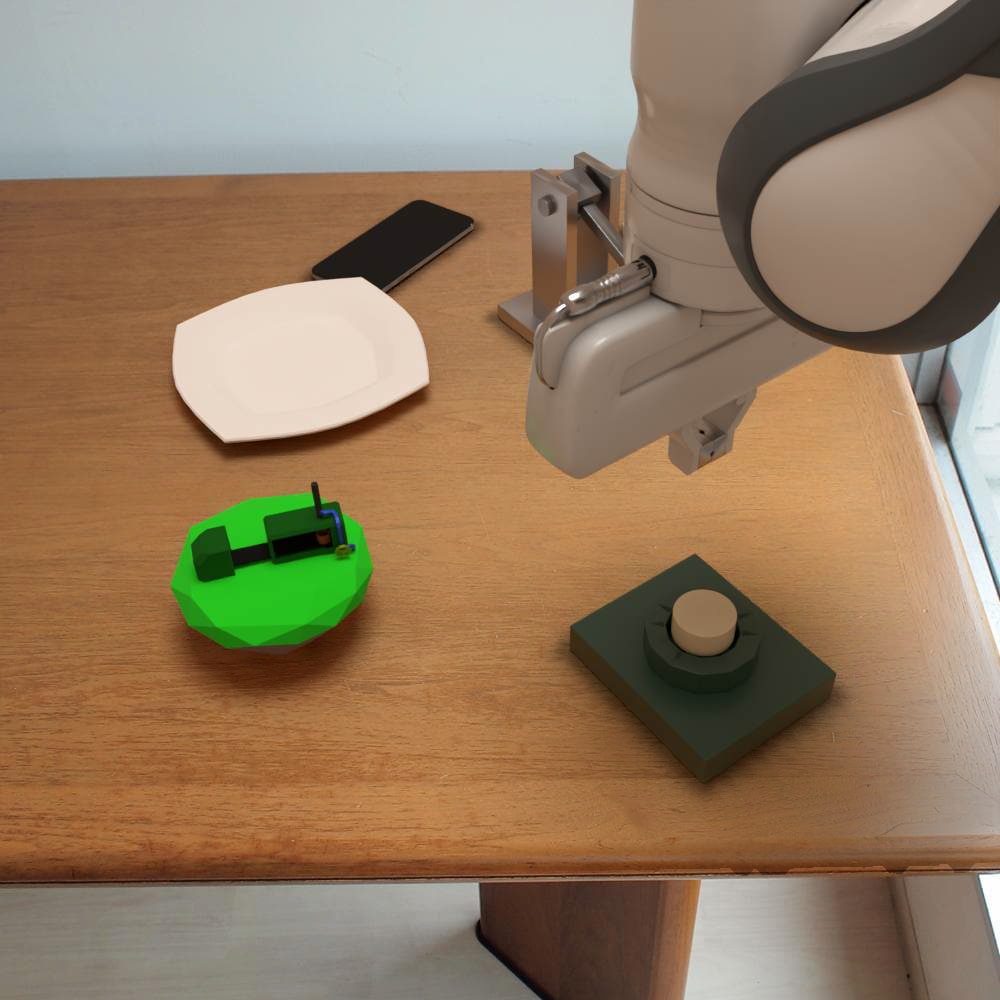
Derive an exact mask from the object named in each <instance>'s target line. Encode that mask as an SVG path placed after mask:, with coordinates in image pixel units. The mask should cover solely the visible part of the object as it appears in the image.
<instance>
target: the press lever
mask: <svg viewBox="0 0 1000 1000" xmlns="http://www.w3.org/2000/svg"><path fill="white" fill-rule="evenodd" d="M555 177H556V178H558V179H559V180H561V181H563V182H564V183H566V184H567V185H569V186H570V187H572V188H574V189H575V190H577V191H578V207H577V220H580V219H583V221H584V222H585V223H586V224H587V226H588V227H589V228H590V229H591V231H592V232H593V233H594V234H595V236H596V237H597V238H598V240H599V241H600V242H601V243H602V245H603V246H604V247H605V248H606V250H607V251H608V252H609V253H610V255H611V256H612V257H613V258H614V260H615V261H616V262H617V266H618V267H622V266H624V265H625V263H624V259H623V236H622V235H621V234H620V233H618V232H617V231H616V229H615V228H614V227H613V225H612V224H611V223H610V222H609V220H608V219H607V218H606V217H605V215H604V214H603V213H602V212H601V210H600V209H599V208H598V207H597V203H598V201H599V198H600V196H601V193H602V192H601V191H600V190H599V188H598V187H597V186H596V185H595V184H594V182H593V181H592V180H591V179H590V177H589V176H588V175H587V174H586V172H585V171H584V170H583V169H582V167H581V166H579V167H576V168H574V167H573V168H572V169H570V170H567V171H563V172H562V173H558V174H556V176H555Z"/></svg>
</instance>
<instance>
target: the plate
mask: <svg viewBox="0 0 1000 1000" xmlns="http://www.w3.org/2000/svg"><path fill="white" fill-rule="evenodd" d="M171 359H172V361H171V362H172V376H173V380H174V386H175V388H176V390H177V391H178V393H179V395H180V397H181V398H182V400H183V402H184V403H185V404H186V405H187V406H188V407H189V409H190V410H191V411H192V413H193V414H194V416H196V417H197V418H198V420H200V421H201V422H202V423H203V424H204V425H205V426H206V427H207V428H208V429H209V430H210V431H211V432H212V433H213V434H214V435H215V436H216V437H218V438H219V439H220V440H221V441H222V442H223V443H224V444H233V443H245V442H256V441H268V440H275V439H276V440H277V439H286V438H292V437H299V436H304V435H311V434H317V433H321V432H325V431H328V430H332V429H336V428H339V427H342V426H346V425H348V424H351V423H355V422H357V421H360V420H362V419H365V418H367V417H369V416H371V415H374V414H376V413H378V412H380V411H382V410H383V411H384V410H385V409H386V408H388V407H390V406H392V405H394V404H396V403H398V402H400V401H401V400H404V399H405V398H407V397H409V396H411V395H413V394H414V393H416V392H418V391H420V390H422V389H424V388H425V387H427V386H429V385H430V370H429V368H430V367H429V361H428V355H427V350H426V345H425V343H424V338H423V335H422V333H421V330H420V328H419V326H418V324H417V322H416V321H415V319H414V318H413V317H412V316H411V315H410V314H409V312H407V310H406V309H405V308H404V307H403V306H402V305H400V304H399V303H398V302H397V301H396V300H394V299H393V297H391V296H389V294H387V293H386V292H385V293H384V292H383V291H381V290H380V289H379V288H377V287H376V286H374V285H373V284H371V283H370V282H368V281H367V280H365V279H364V278H362V277H357V278H343V279H331V280H320V281H317V280H311V281H303V282H296V283H289V284H283V285H278V286H273V287H270V288H265V289H262V290H259V291H255V292H251V293H249V294H245V295H243V296H240V297H238V298H234V299H231V300H230V301H226V302H224V303H222V304H219V305H217V306H215V307H213V308H211V309H208V310H207V311H204V312H202V313H199V314H197V315H195V316H193V317H190V318H189V319H187V320H184V321H183V322H180V323H178V324H177V325H176V326H175V333H174V338H173V345H172V356H171Z"/></svg>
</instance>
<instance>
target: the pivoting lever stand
mask: <svg viewBox="0 0 1000 1000" xmlns="http://www.w3.org/2000/svg"><path fill="white" fill-rule="evenodd" d="M579 166H581V167H582V169H583V170H584V171H585V172H586V174H587V175H588V176H589V177H590V179H591V180H592V181H593V182H594V184H595V185H596V186H597V187H598V188H599V190H600V191H601V192H602V193H601V196H600V198H599V201H598V203H597V207H598V208H599V209H600V210H601V212H602V213H603V214H604V215H605V217H606V218H607V219H608V220H609V222H610V223H611V224H612V225H613V227H614V228H615V229H616V231H617V232H618V233H619V232H620V231H619V230H620V211H621V210H620V209H621V208H620V207H621V184H622V183H621V181H622V174H621V172H619V171H617V170H616V169H614V168H612V167H610V166H609V165H607V164H605V163H604V162H602V161H601V160H599V159H597V158H596V157H594V156H592V155H591V154H589V153H587V152H586V151H581V152H579V153H576V154H574V155H573V169H574V168H576V167H579ZM556 177H557V176H554V174H552V173H550V172H549V171H547V170H546V169H544V168H542V167H540V168H537V169H534V170H531V171H530V214H531V215H530V219H531V220H530V221H531V223H530V224H531V226H530V227H531V269H532V271H531V280H532V284H531V285H532V289H530V290H527V291H525V292H523V293H521V294H518V295H516V296H514V297H511V298H509V299H507V300H505V301H502V302H500V303H497V317H498V319H499V320H501V321H502V322H503V323H505V324H506V325H507V326H508V327H510V328H511V329H512V330H513V331H515V332H516V333H517V334H518V335H520V336H521V337H522V338H523V339H525V340H526V341H528V342H529V343H530V344H531V345H532V346H534V335H535V332H536V329H537V327H538V325H539V324H540V323H542V322H544V320H545V319H546V317H547V316H548V315H549V314H550V313H551V312H552V310H553V309H555V308H556V307H557V306H558V305H559V299H560V297H561V296H562V295H563V294H565V293H566V292H567V291H569V290H570V289H572V288H574V287H577V286H579V285H582V284H589V283H591V282H594V281H596V280H598V279H600V278H602V277H603V276H605V275H606V274H608V273H609V272H611V271H613V270H615V269H617V268H618V264H617V262H616V261H615V260H614V258H613V257H612V256H611V255H610V253H609V252H608V251H607V250H606V248H605V247H604V246H603V245H602V243H601V242H600V241H599V240H598V238H597V237H596V236H595V234H594V233H593V232H592V231H591V229H590V228H589V227H588V226H587V224H586V223H585V222H584V221H583V219H580V220H577V207H578V191H577V190H575V189H574V188H572V187H570V186H569V185H567V184H566V183H564V182H563V181H561V180H559V179H558V178H556ZM619 234H620V233H619Z"/></svg>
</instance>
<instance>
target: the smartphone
mask: <svg viewBox="0 0 1000 1000" xmlns="http://www.w3.org/2000/svg"><path fill="white" fill-rule="evenodd" d="M474 228H475V220H474V218H473V217H472V216H469V215H466V214H465V213H462V212H458V211H455V210H453V209H450V208H447V207H445V206H442V205H439V204H436V203H434V202H430V201H428V200H425V199H416V200H415V199H414V200H412V201H410V202H408V203H407V204H405V205H404V206H402V207H401V208H400V209H397V210H396V211H395V212H394V213H391V214H390V215H389V216H387V217H386V218H384V219H382V220H381V221H380V222H377V224H375V225H373V226H372V227H370V228H369V229H367V230H365V231H364V232H363V233H362V234H360V235H359V236H356V237H355V238H354V239H353V240H350V241H349V242H348V243H346V244H345V245H343V246H342V247H340V248H339V249H337V250H336V251H334V252H333V253H331V254H330V255H328V256H327V257H325V258H323V259H322V260H320V261H319V262H318V263H316V264H314V265H313V266H312V267H311V276H312V278H313V279H314V281H320V280H331V279H343V278H357V277H362V278H364V279H365V280H367V281H368V282H370V283H371V284H373V285H374V286H376V287H377V288H379V289H380V290H381V291H383V292H384V293H385V294H386V292H387V291H389V290H390V289H392V288H394V287H395V286H396V285H397V284H399V283H400V282H402V281H403V280H404V279H407V277H409V276H410V275H412V274H413V273H414V272H416V271H417V270H419V269H420V268H421V267H423V266H424V265H425V264H426V263H428V262H429V261H431V260H432V259H433V258H435V257H437V256H438V255H440V254H441V253H442V252H444V251H445V250H446V249H448V248H450V246H452V245H453V244H455V243H456V242H458V241H459V240H460V239H462V238H463V237H464V236H466V235H467V234H469V233H470V232H472V231H473V230H474Z"/></svg>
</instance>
